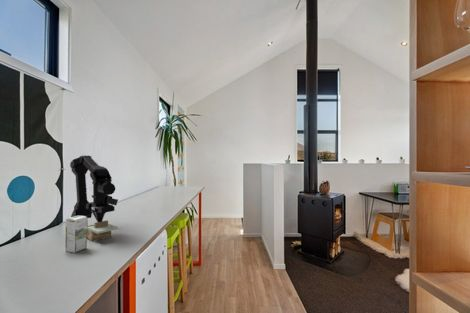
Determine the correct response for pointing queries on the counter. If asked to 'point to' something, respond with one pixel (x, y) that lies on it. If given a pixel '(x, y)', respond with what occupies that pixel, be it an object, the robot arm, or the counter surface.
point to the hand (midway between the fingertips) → (99, 223)
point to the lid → (102, 227)
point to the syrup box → (76, 234)
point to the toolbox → (97, 235)
